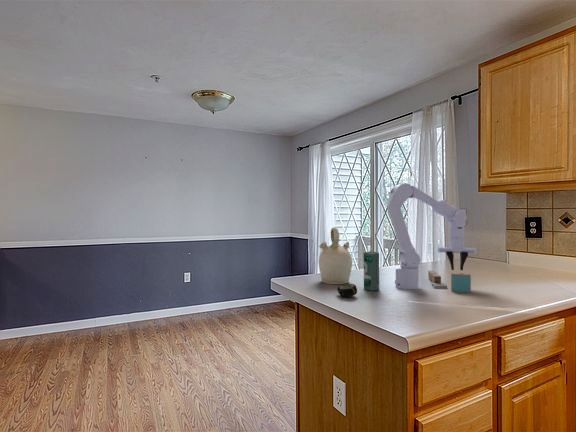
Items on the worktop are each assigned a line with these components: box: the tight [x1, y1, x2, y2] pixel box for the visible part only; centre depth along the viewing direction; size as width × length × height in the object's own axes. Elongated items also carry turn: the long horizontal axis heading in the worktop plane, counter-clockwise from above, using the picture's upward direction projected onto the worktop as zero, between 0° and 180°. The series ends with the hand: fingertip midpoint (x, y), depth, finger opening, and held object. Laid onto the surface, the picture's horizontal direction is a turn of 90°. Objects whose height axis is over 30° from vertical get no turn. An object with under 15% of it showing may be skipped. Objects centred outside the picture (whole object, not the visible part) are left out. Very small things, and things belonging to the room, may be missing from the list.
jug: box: [318, 226, 353, 285], centre depth 157 cm, size 15×16×25 cm
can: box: [362, 251, 380, 292], centre depth 142 cm, size 6×6×15 cm
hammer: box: [427, 270, 448, 290], centre depth 151 cm, size 19×5×4 cm, turn 168°
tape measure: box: [337, 283, 358, 298], centre depth 130 cm, size 7×7×4 cm
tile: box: [449, 272, 472, 293], centre depth 136 cm, size 7×3×7 cm, turn 72°
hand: (456, 269), depth 145 cm, fingers open, 3 cm apart
